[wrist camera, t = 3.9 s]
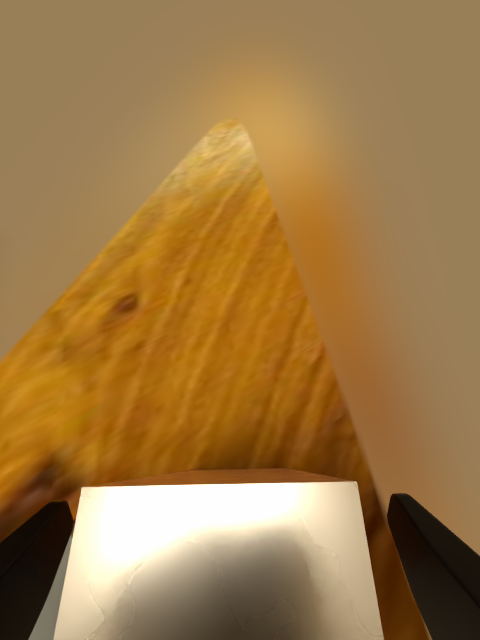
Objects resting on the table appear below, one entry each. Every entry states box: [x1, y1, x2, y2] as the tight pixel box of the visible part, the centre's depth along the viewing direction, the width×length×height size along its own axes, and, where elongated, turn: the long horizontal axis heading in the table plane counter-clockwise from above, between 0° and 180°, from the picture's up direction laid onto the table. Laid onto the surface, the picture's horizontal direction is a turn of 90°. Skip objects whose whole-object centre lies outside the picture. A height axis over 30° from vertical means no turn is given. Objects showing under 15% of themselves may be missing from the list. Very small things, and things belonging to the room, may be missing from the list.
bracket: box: [53, 468, 384, 640], centre depth 8 cm, size 8×5×11 cm, turn 1°
